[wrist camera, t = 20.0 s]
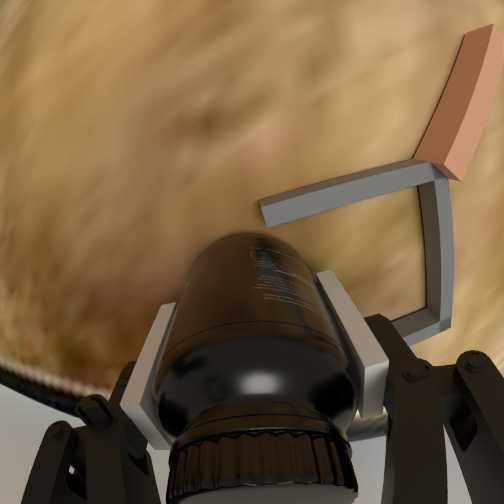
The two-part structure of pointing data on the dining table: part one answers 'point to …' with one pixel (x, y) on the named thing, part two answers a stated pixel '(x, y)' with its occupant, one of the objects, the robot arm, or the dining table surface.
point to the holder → (421, 176)
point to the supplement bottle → (256, 383)
